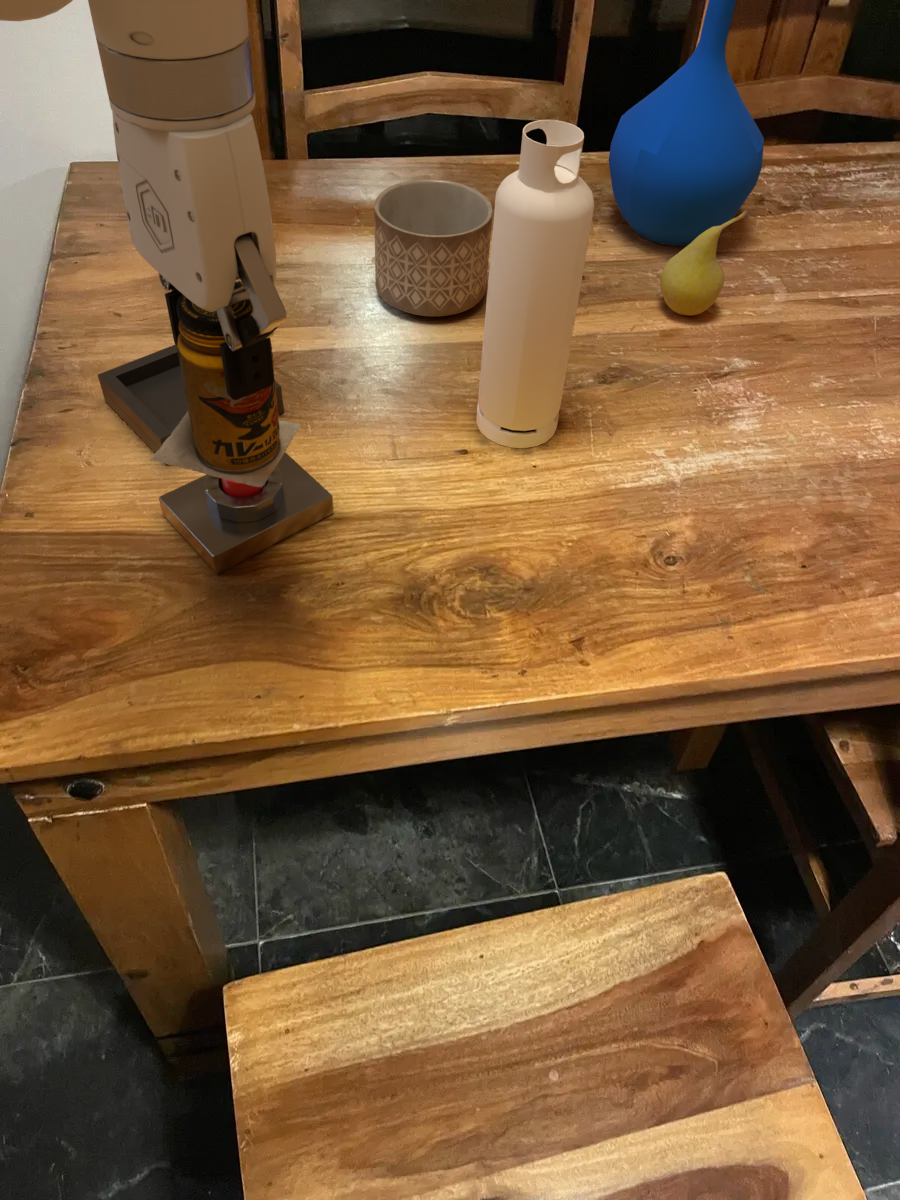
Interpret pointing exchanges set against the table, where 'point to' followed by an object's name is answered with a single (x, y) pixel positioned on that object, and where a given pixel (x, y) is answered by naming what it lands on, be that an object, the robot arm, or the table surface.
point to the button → (240, 489)
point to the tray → (152, 395)
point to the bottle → (534, 287)
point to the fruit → (695, 274)
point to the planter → (432, 246)
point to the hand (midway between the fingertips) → (223, 363)
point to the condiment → (222, 408)
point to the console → (245, 513)
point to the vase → (688, 146)
